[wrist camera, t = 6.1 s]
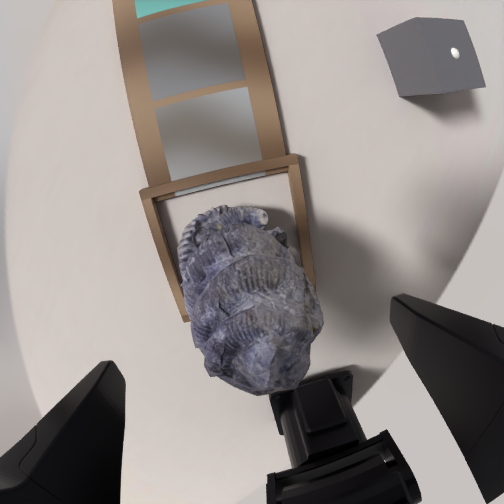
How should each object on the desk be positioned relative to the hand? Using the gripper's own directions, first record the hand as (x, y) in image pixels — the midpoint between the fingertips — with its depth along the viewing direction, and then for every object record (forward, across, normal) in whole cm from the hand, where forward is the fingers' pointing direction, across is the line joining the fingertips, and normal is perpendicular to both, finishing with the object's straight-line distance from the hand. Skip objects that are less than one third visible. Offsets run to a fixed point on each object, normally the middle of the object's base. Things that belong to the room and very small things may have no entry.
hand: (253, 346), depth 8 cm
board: (+8, 0, -11) cm, 14 cm away
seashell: (+8, 0, 0) cm, 9 cm away
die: (+8, -13, -9) cm, 18 cm away
